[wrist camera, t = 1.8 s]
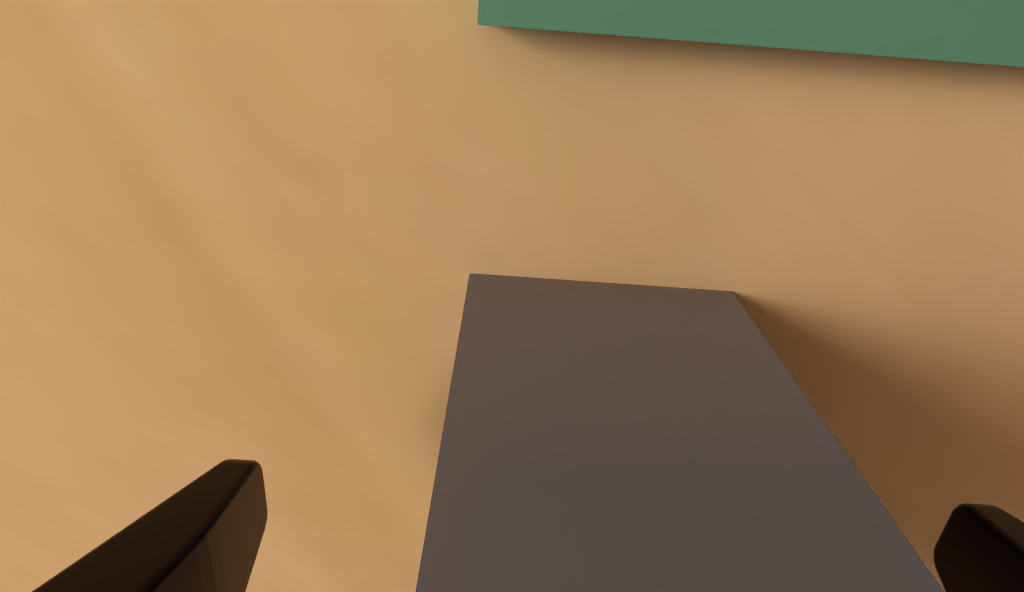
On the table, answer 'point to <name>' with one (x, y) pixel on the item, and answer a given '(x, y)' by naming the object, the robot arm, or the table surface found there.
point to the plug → (642, 454)
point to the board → (793, 24)
